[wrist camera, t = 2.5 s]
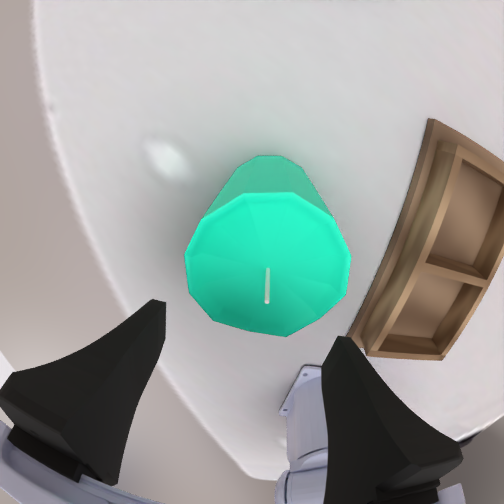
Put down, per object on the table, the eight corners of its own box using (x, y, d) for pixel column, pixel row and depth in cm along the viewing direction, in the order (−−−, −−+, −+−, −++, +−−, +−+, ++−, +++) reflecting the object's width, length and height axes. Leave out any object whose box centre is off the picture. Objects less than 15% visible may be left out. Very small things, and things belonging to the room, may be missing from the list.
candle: (208, 197, 20) (137, 295, 9) (269, 135, 17) (267, 156, 7) (269, 253, 21) (265, 386, 10) (330, 198, 19) (396, 299, 8)
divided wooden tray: (427, 347, 25) (439, 370, 22) (345, 338, 24) (352, 366, 21) (509, 168, 16) (534, 178, 13) (428, 118, 16) (454, 120, 13)
